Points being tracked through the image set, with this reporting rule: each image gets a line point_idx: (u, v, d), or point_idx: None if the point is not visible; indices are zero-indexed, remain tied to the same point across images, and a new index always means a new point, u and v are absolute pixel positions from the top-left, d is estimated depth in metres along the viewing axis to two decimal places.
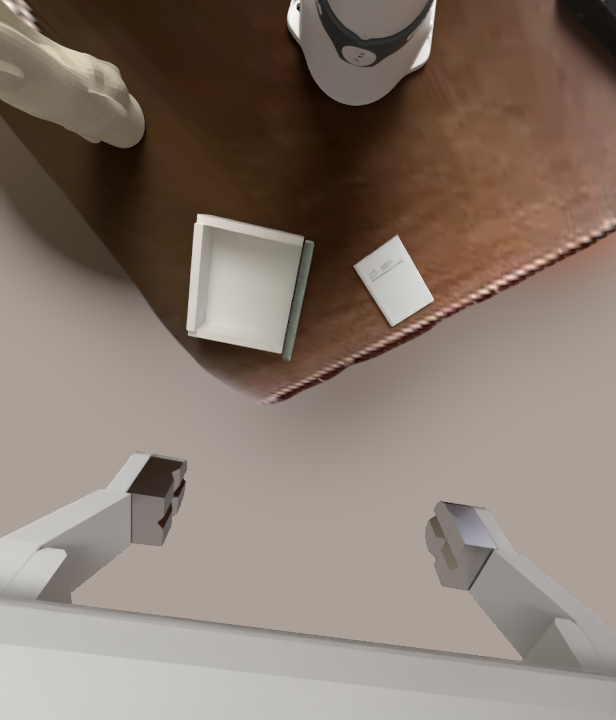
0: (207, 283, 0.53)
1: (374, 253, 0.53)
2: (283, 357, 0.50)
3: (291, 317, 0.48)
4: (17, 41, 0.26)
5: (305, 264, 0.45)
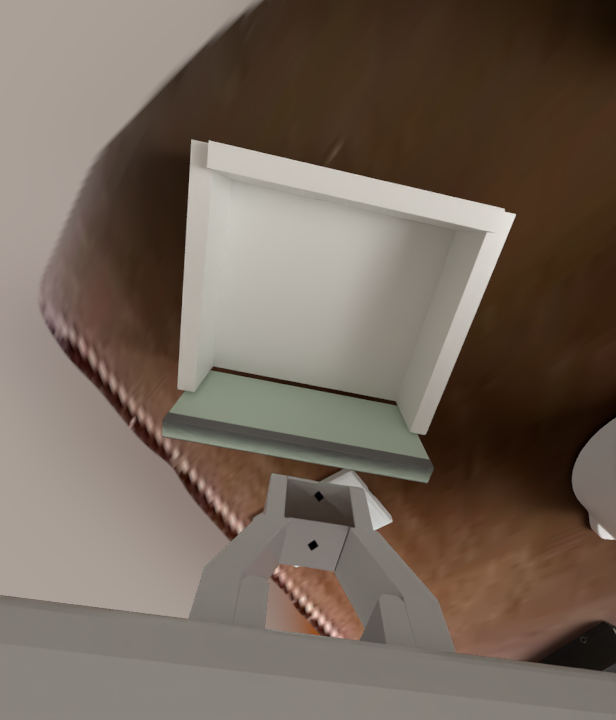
0: (329, 201, 0.22)
1: (369, 497, 0.33)
2: (169, 423, 0.20)
3: (272, 441, 0.21)
4: None
5: (389, 468, 0.21)
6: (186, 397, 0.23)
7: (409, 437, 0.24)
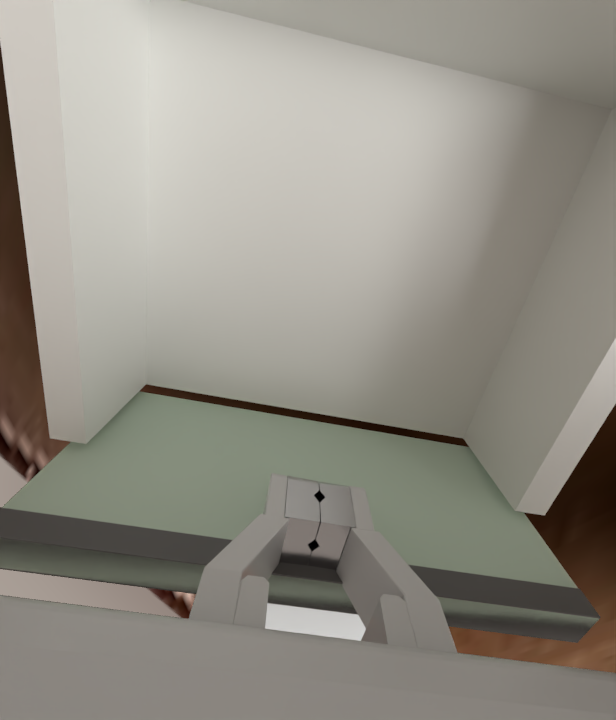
0: (361, 37, 0.10)
1: None
2: None
3: None
4: None
5: (501, 619, 0.10)
6: (67, 458, 0.11)
7: (514, 523, 0.12)
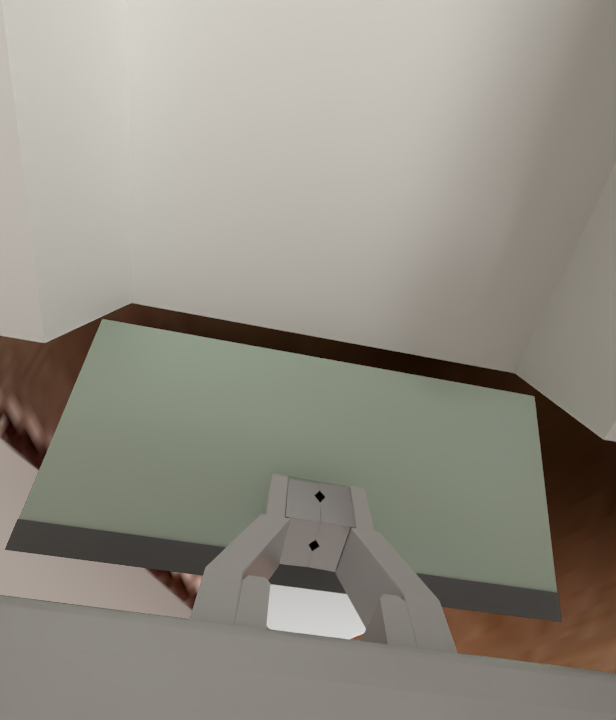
0: None
1: None
2: (24, 550, 0.10)
3: None
4: None
5: None
6: (61, 448, 0.11)
7: (528, 514, 0.12)
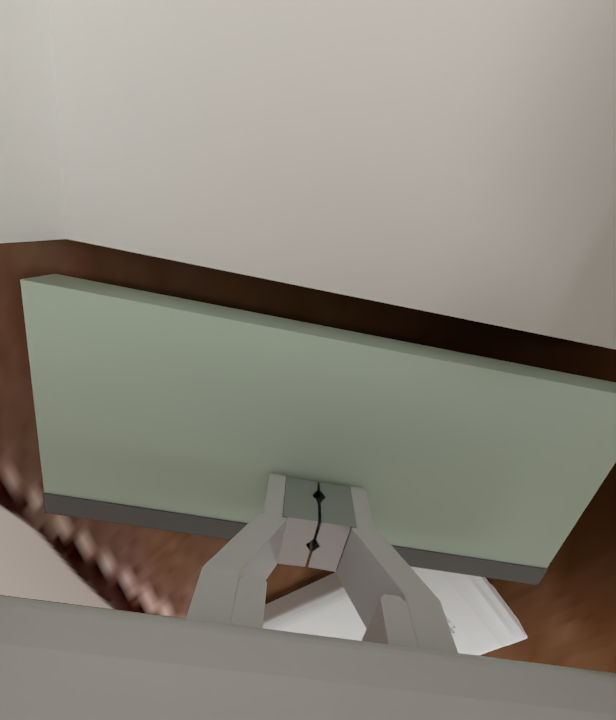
0: None
1: (488, 594, 0.14)
2: (62, 508, 0.11)
3: None
4: None
5: None
6: (51, 439, 0.10)
7: (556, 516, 0.11)
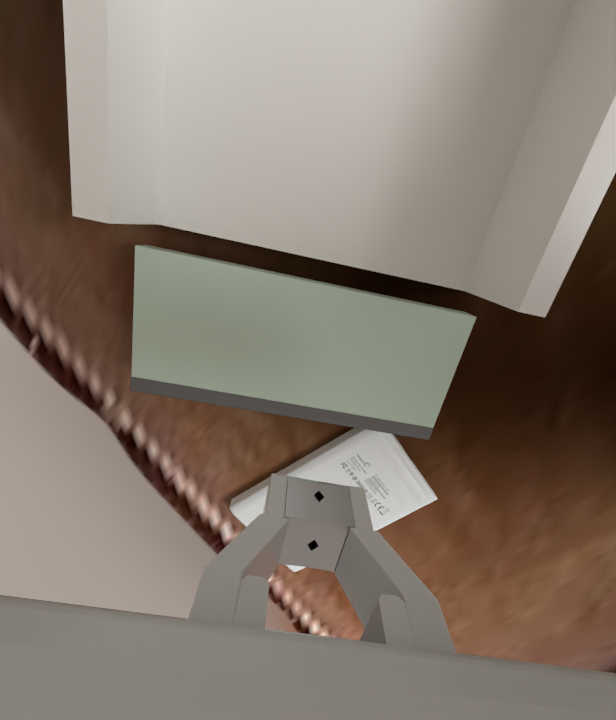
0: None
1: (407, 462, 0.22)
2: (140, 390, 0.18)
3: None
4: None
5: None
6: (140, 340, 0.17)
7: (433, 391, 0.19)
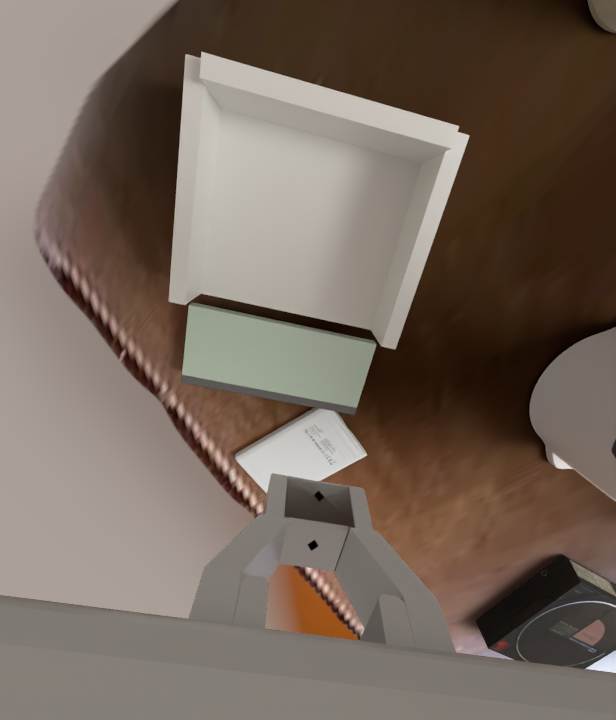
0: (309, 131, 0.24)
1: (345, 430, 0.36)
2: (186, 382, 0.32)
3: None
4: None
5: None
6: (188, 354, 0.31)
7: (355, 386, 0.32)
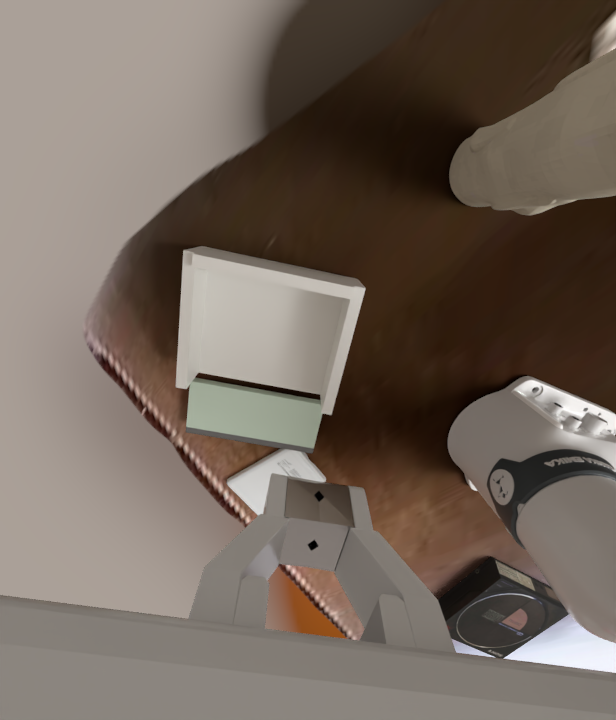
0: None
1: (308, 463, 0.48)
2: (189, 431, 0.44)
3: None
4: None
5: None
6: (190, 413, 0.43)
7: (311, 433, 0.44)
